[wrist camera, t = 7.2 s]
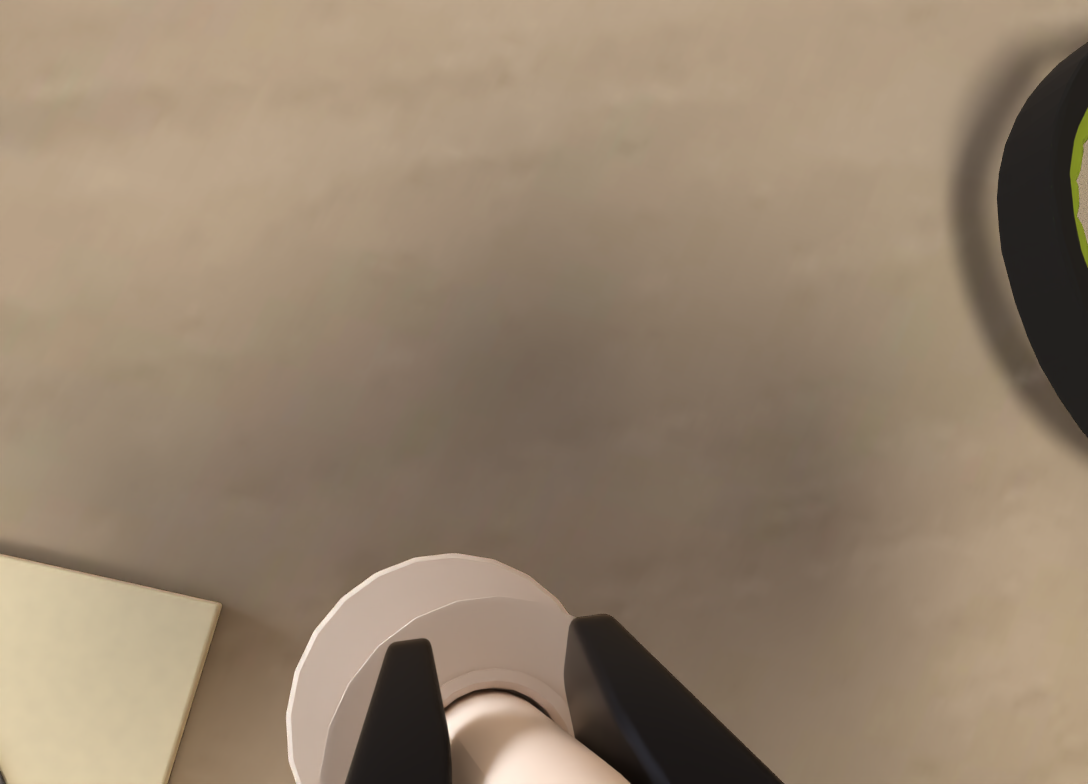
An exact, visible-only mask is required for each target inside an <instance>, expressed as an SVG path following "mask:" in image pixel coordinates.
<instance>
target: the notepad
mask: <svg viewBox="0 0 1088 784" xmlns="http://www.w3.org/2000/svg"><path fill="white" fill-rule="evenodd" d="M221 608H222V604H221V603H218V602H214V601H209V600H205V599H200V598H196V597H191V596H187V595H182V594H178V593H173V592H169V591H165V590H160V589H156V588H151V587H147V586H142V585H138V584H133V583H129V582H124V581H120V580H115V579H111V578H106V577H102V576H98V575H93V574H89V573H84V572H80V571H75V570H71V569H66V568H62V567H57V566H53V565H48V564H44V563H39V562H35V561H31V560H26V559H22V558H17V557H13V556H8V555H4V554H0V784H167V783H168V780H169V777H170V774H171V770H172V767H173V764H174V761H175V757H176V754H177V751H178V748H179V744H180V741H181V738H182V735H183V731H184V728H185V725H186V722H187V718H188V715H189V712H190V709H191V705H192V702H193V699H194V696H195V692H196V689H197V686H198V683H199V679H200V676H201V673H202V670H203V667H204V663H205V660H206V657H207V654H208V650H209V647H210V644H211V641H212V637H213V634H214V631H215V628H216V624H217V621H218V618H219V615H220V611H221Z"/></svg>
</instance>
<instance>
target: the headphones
mask: <svg viewBox="0 0 1088 784" xmlns="http://www.w3.org/2000/svg"><path fill="white" fill-rule="evenodd" d="M1087 140H1088V42H1087V43H1086V44H1084V45H1083V46H1082V47H1080V48H1079V49H1077V50H1076V51H1075V52H1073V53H1072V54H1071V55H1069V56H1068V57H1067V58H1066V59H1064V60H1063V61H1062V62H1061V63H1059V64H1058V65H1057V66H1056V67H1055V68H1054V69H1053V70H1052V71H1051V72H1050V73H1049V74H1048V75H1047V76H1046V77H1045V78H1044V79H1043V81H1042V82H1041V83H1040V84H1039V85H1038V86H1037V88H1036V89H1035V90H1034V91H1033V93H1032V94H1031V95H1030V96H1029V98H1028V99H1027V101H1026V103H1025V104H1024V106H1023V108H1022V109H1021V111H1020V113H1019V114H1018V116H1017V118H1016V120H1015V123H1014V125H1013V128H1012V130H1011V132H1010V135H1009V137H1008V139H1007V142H1006V144H1005V148H1004V153H1003V157H1002V162H1001V167H1000V171H999V180H998V192H997V205H998V220H999V232H1000V241H1001V250H1002V255H1003V259H1004V262H1005V266H1006V270H1007V274H1008V277H1009V281H1010V285H1011V289H1012V292H1013V296H1014V300H1015V303H1016V306H1017V309H1018V311H1019V314H1020V317H1021V320H1022V322H1023V325H1024V328H1025V331H1026V334H1027V336H1028V339H1029V341H1030V343H1031V346H1032V348H1033V350H1034V352H1035V355H1036V357H1037V359H1038V361H1039V364H1040V366H1041V368H1042V370H1043V371H1044V373H1045V375H1046V376H1047V378H1048V380H1049V382H1050V383H1051V385H1052V387H1053V388H1054V390H1055V392H1056V394H1057V395H1058V397H1059V398H1060V400H1061V402H1062V403H1063V404H1064V406H1065V407H1066V409H1067V410H1068V412H1069V413H1070V415H1071V416H1072V417H1073V419H1074V420H1075V422H1076V423H1077V425H1078V426H1079V428H1080V429H1081V430H1082V431H1083V433H1084V434H1085V435H1086V436H1087V437H1088V244H1087V241H1086V237H1085V233H1084V229H1083V226H1082V224H1081V222H1080V221H1079V219H1078V217H1077V213H1078V209H1079V189H1078V184H1077V182H1076V180H1077V178H1078V175H1079V173H1080V170H1081V164H1082V157H1083V144H1084V143H1085V142H1086V141H1087Z"/></svg>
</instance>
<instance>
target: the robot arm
mask: <svg viewBox="0 0 1088 784" xmlns="http://www.w3.org/2000/svg"><path fill="white" fill-rule="evenodd" d="M564 686H565V692H566V697H567V702H568V707H569V712H570V716H571V721H572V726H573V731H574V735H575V739H577V740H578V741H579V742H581V743H582V744H583V745H584V746H586V747H587V748H588V749H590V750H591V751H592V752H593V753H595V754H596V755H597V756H599V757H600V758H601V759H603V760H604V761H605V762H606V763H608V764H609V765H610V766H611V767H613V768H614V769H615V770H616V771H618V772H619V773H620V774H621V775H622V776H623V777H624V778H625V779H626V780H627V781H628V782H630V783H631V784H784V783H783V782H782V781H781V780H780V779H779V778H778V777H777V776H776V775H775V774H774V773H773V772H772V771H771V770H770V769H769V768H768V767H767V766H766V765H765V764H764V763H762V762H761V761H760V760H759V759H758V758H757V757H756V756H755V755H754V754H753V753H752V752H751V751H750V750H749V749H748V748H747V747H746V746H745V745H744V744H743V743H742V742H741V741H740V740H739V739H738V738H737V737H736V736H735V735H734V734H733V733H732V732H731V731H730V730H729V729H728V728H727V727H725V726H724V725H723V724H722V723H721V722H720V721H719V720H718V719H717V718H716V717H715V716H714V715H713V714H712V713H711V712H710V711H709V710H708V709H707V708H706V707H705V706H704V705H703V704H702V703H701V702H700V701H699V700H698V699H697V698H696V697H695V696H694V695H693V694H692V693H691V692H689V691H688V690H687V689H686V688H685V687H684V686H683V685H682V684H681V683H680V682H679V681H678V680H677V679H676V678H675V677H674V676H673V675H672V674H671V673H670V672H669V671H668V670H667V669H666V668H665V667H664V666H663V665H662V664H661V663H660V662H659V661H658V660H657V659H656V658H655V657H653V656H652V655H651V654H650V653H649V652H648V651H647V650H646V649H645V648H644V647H643V646H642V645H641V644H640V643H639V642H638V641H637V640H636V639H635V638H634V637H633V636H632V635H631V634H630V633H629V632H628V631H627V630H626V629H625V628H624V627H623V626H622V625H621V624H620V623H619V622H617V621H616V620H615V619H614V618H613V617H612V616H610V615H607V614H598V615H591V616H583V617H577V618H574V619H573V620H572V621H571V623H570V626H569V630H568V638H567V647H566V655H565V663H564ZM345 784H452V758H451V745H450V738H449V732H448V726H447V721H446V716H445V711H444V706H443V701H442V696H441V691H440V686H439V681H438V676H437V670H436V665H435V660H434V655H433V650H432V646H431V643H430V641H429V640H428V639H426V638H419V639H411V640H404V641H396V642H393V643H391V644H390V645H389V647H388V648H387V651H386V653H385V657H384V660H383V663H382V666H381V669H380V673H379V676H378V679H377V682H376V685H375V689H374V692H373V695H372V698H371V701H370V704H369V708H368V711H367V714H366V717H365V720H364V724H363V727H362V730H361V733H360V736H359V739H358V743H357V746H356V749H355V752H354V755H353V759H352V762H351V765H350V768H349V771H348V775H347V778H346V781H345Z"/></svg>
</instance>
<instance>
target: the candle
mask: <svg viewBox="0 0 1088 784" xmlns="http://www.w3.org/2000/svg"><path fill="white" fill-rule="evenodd" d="M574 618H576V617H573V616H571V615H569V614H568V612H567V611H566V609H565V608H564V607H563V605H562V604H561V602H560V601H559V600H558V599H557V598H556V597H555V596H553V595H552V594H551V593H550V592H549V591H547V590H546V589H545V588H544V587H543V586H541V585H540V584H539V583H538V582H537V581H535V580H534V579H533V578H532V577H530V576H529V575H528V574H525V573H523V572H521V571H519V570H517V569H514V568H512V567H510V566H508V565H505V564H503V563H501V562H499V561H497V560H494V559H490V558H484V557H477V556H471V555H464V554H458V553H450V554H441V555H432V556H423V557H415V558H412V559H409V560H407V561H404V562H402V563H399V564H397V565H394V566H392V567H389V568H386V569H384V570H381V571H379V572H376V573H375V574H373V575H372V576H371V577H369V578H368V579H366V580H365V581H364V582H362V583H361V584H360V585H358V586H357V587H355V588H354V589H353V590H351V591H350V592H348V593H347V594H346V595H344V596H343V597H342V598H341V599H340V600H339V601H338V603H337V604H336V605H335V606H334V607H333V609H332V610H331V611H330V612H329V613H328V615H327V616H326V617H325V618H324V619H323V621H322V622H321V623H320V624H319V625H318V627H317V628H316V629H315V630H314V632H313V634H312V636H311V638H310V640H309V643H308V645H307V647H306V649H305V651H304V653H303V655H302V657H301V659H300V661H299V663H298V665H297V668H296V670H295V673H294V678H293V682H292V687H291V692H290V697H289V702H288V707H287V712H286V725H287V743H288V760H289V763H290V766H291V769H292V772H293V775H294V778H295V781H296V784H345V781H346V778H347V775H348V771H349V768H350V765H351V762H352V759H353V755H354V752H355V749H356V746H357V743H358V739H359V736H360V733H361V730H362V727H363V724H364V720H365V717H366V714H367V711H368V708H369V704H370V701H371V698H372V695H373V692H374V689H375V685H376V682H377V679H378V676H379V673H380V669H381V666H382V663H383V660H384V657H385V653H386V651H387V648H388V647H389V645H390V644H391V643H393V642H396V641H404V640H411V639H419V638H426V639H428V640H429V641H430V643H431V646H432V650H433V655H434V660H435V665H436V670H437V676H438V681H439V686H440V691H441V696H442V701H443V706H444V711H445V716H446V721H447V726H448V732H449V738H450V745H451V758H452V784H631V783H630V782H628V781H627V780H626V779H625V778H624V777H623V776H622V775H621V774H620V773H619V772H618V771H616V770H615V769H614V768H613V767H611V766H610V765H609V764H608V763H606V762H605V761H604V760H603V759H601V758H600V757H599V756H597V755H596V754H595V753H593V752H592V751H591V750H590V749H588V748H587V747H586V746H584V745H583V744H582V743H581V742H579V741H578V740H577V739H575V735H574V731H573V726H572V721H571V716H570V712H569V707H568V702H567V697H566V692H565V686H564V663H565V655H566V647H567V638H568V630H569V626H570V623H571V621H572V620H573V619H574Z"/></svg>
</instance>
